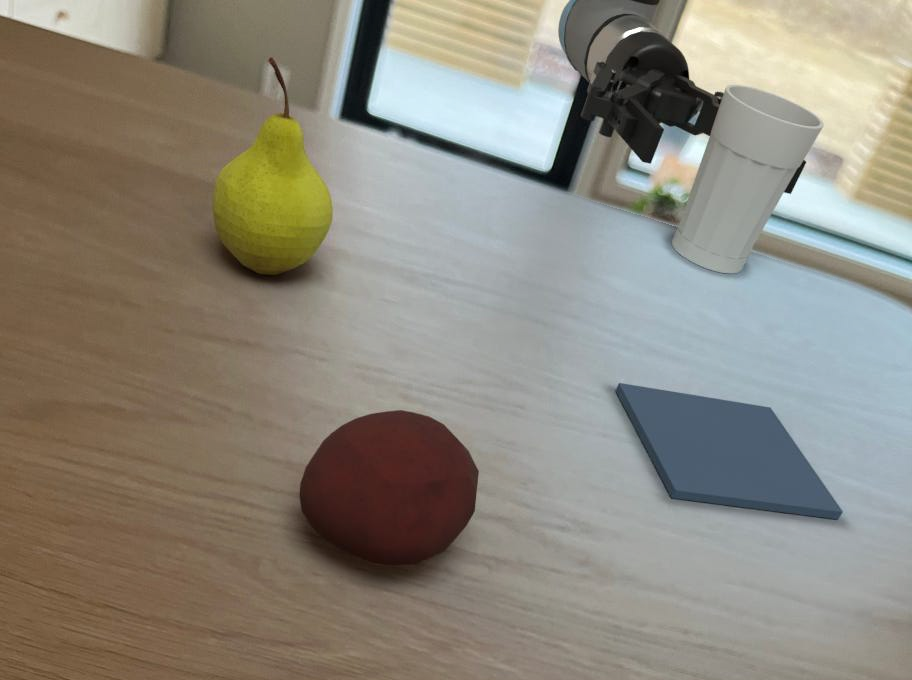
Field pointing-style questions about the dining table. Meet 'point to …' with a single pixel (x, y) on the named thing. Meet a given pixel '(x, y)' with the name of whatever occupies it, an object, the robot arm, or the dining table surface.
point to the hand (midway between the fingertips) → (726, 162)
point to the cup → (743, 175)
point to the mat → (725, 453)
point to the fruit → (272, 199)
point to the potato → (390, 488)
